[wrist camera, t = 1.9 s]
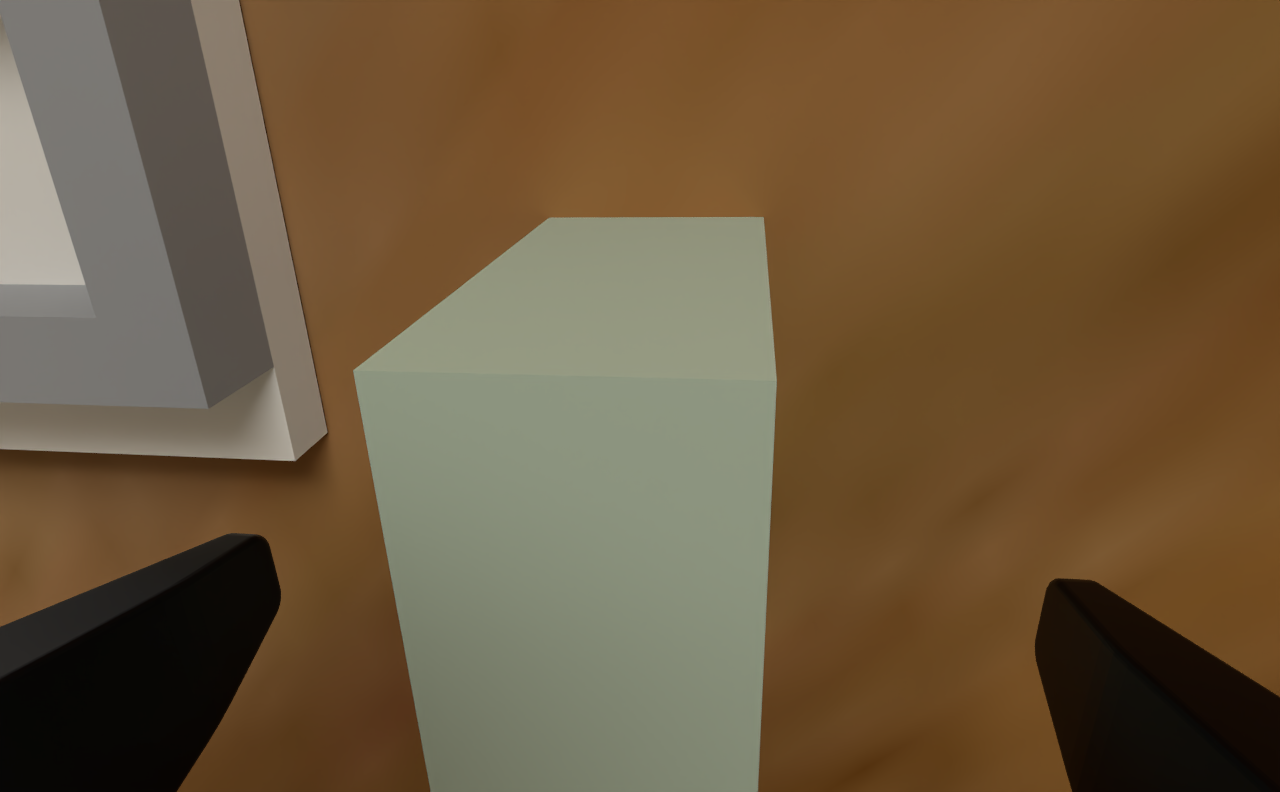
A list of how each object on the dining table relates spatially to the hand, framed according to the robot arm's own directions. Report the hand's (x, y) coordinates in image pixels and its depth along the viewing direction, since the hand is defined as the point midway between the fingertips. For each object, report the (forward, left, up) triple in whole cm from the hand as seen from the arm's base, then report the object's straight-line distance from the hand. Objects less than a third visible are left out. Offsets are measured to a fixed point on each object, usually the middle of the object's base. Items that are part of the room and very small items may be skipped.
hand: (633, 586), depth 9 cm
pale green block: (0, 0, -4) cm, 4 cm away
